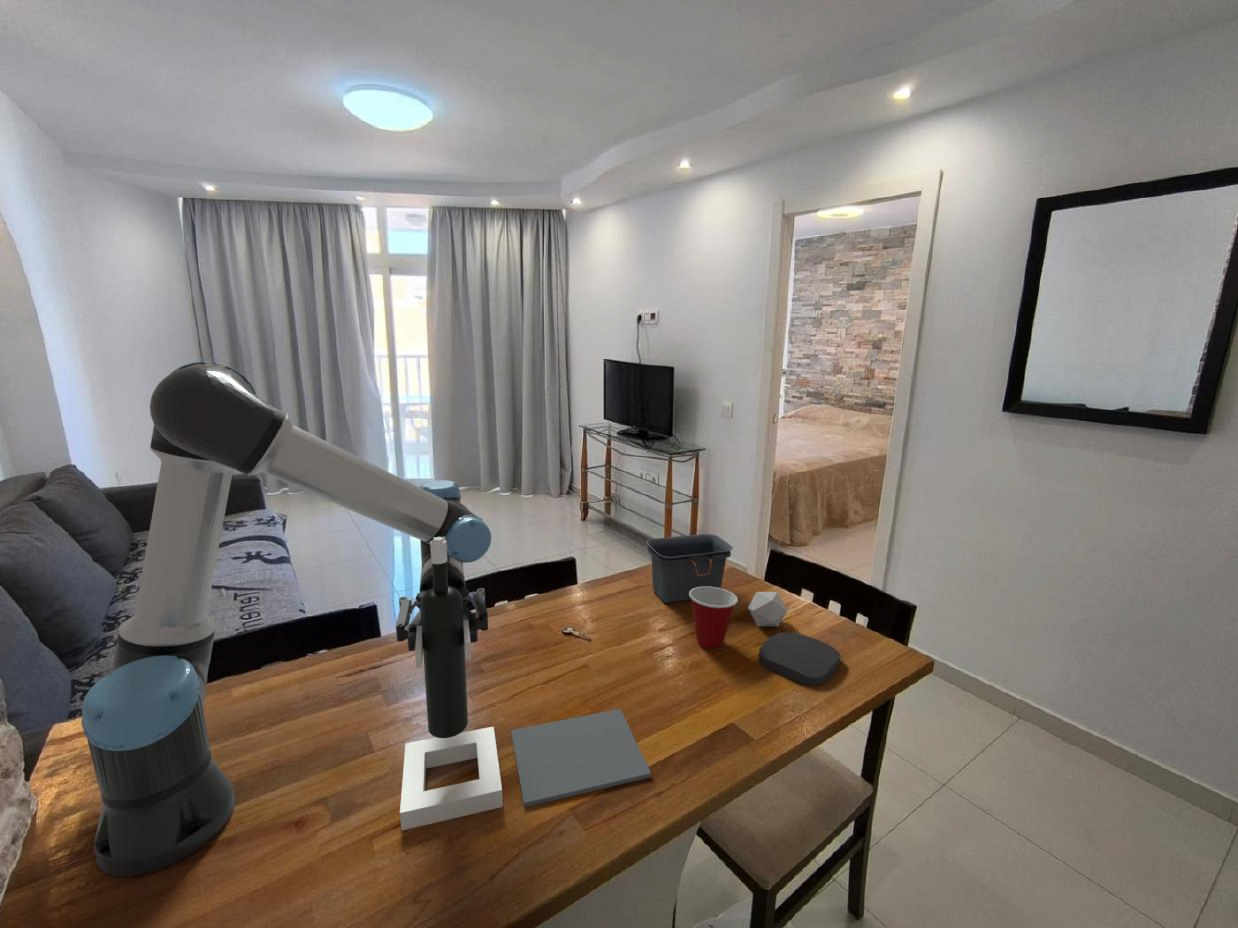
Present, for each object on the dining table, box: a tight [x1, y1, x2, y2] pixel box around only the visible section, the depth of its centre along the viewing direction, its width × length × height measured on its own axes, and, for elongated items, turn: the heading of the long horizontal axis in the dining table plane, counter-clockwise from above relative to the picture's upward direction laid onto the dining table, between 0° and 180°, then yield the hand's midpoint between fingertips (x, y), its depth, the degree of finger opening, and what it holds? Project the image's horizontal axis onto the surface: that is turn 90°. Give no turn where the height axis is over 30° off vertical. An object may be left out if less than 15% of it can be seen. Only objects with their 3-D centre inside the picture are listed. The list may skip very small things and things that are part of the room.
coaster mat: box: [510, 708, 652, 808], centre depth 92 cm, size 20×16×1 cm
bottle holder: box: [399, 726, 504, 831], centre depth 86 cm, size 14×14×3 cm
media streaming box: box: [758, 631, 841, 687], centre depth 119 cm, size 15×15×3 cm
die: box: [747, 591, 788, 628], centre depth 134 cm, size 8×9×10 cm
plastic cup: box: [689, 586, 739, 650], centre depth 125 cm, size 11×11×12 cm
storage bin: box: [645, 533, 734, 604], centre depth 147 cm, size 21×16×14 cm
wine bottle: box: [419, 536, 469, 738], centre depth 81 cm, size 6×6×30 cm
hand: (443, 654), depth 76 cm, fingers closed on wine bottle, 6 cm apart
